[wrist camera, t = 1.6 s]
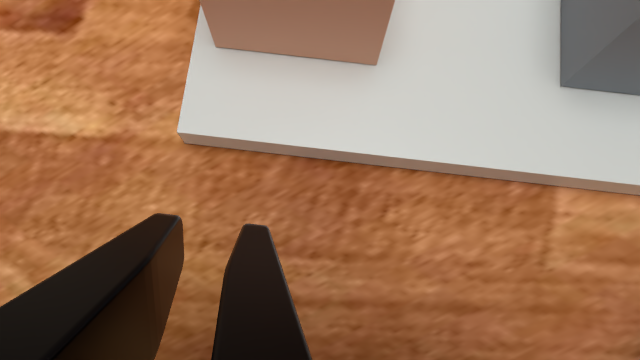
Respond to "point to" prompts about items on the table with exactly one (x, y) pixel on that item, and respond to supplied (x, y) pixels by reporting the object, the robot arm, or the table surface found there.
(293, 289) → the table surface
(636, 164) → the grey base board
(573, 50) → the dark slate block
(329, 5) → the terracotta block
